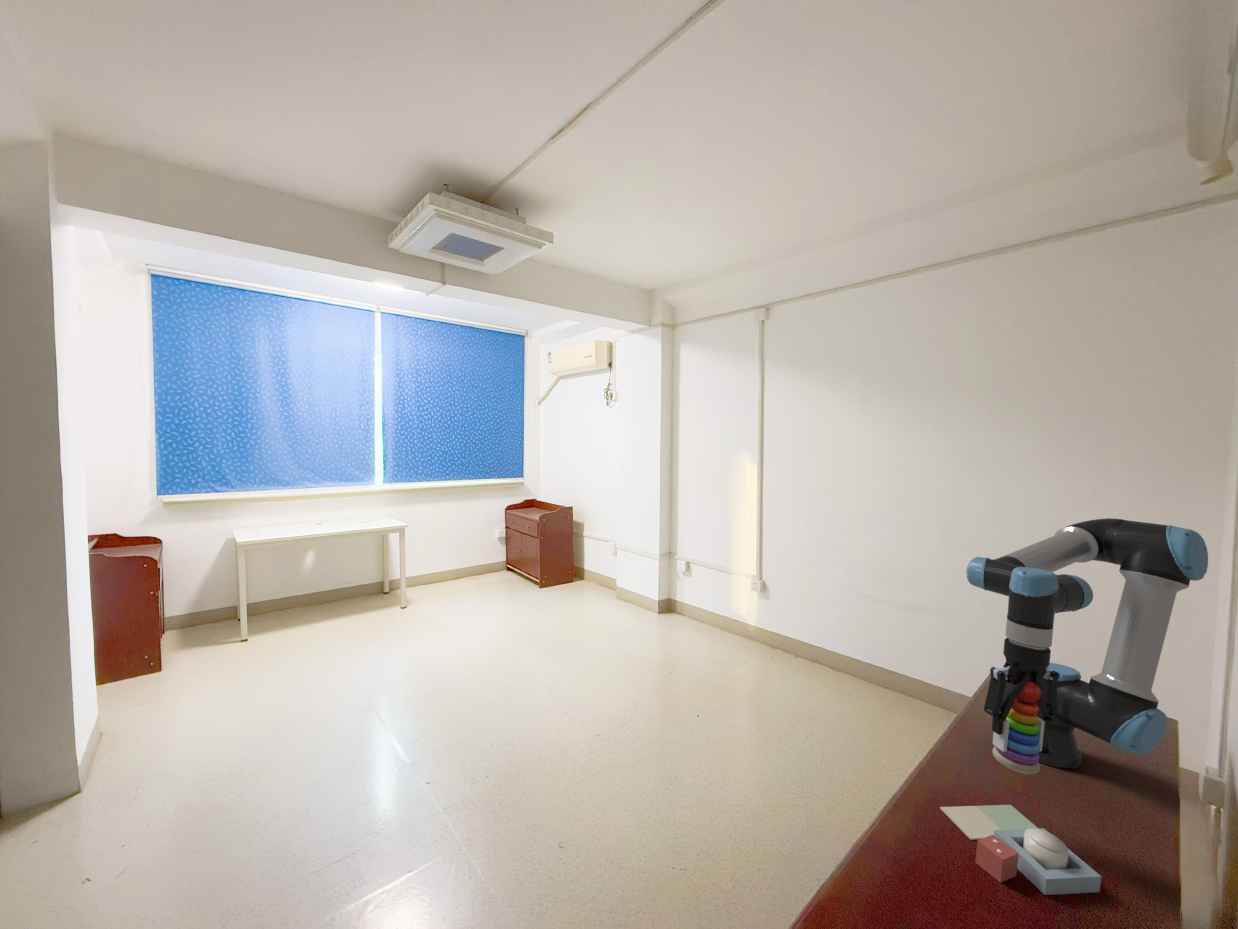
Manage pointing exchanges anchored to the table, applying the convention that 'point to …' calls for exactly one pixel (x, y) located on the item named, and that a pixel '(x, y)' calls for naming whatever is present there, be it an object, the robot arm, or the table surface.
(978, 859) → the pink rectangular block
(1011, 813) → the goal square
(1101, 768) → the table surface
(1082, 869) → the dome base
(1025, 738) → the stacking toy
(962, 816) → the square
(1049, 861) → the dome button
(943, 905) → the table surface
